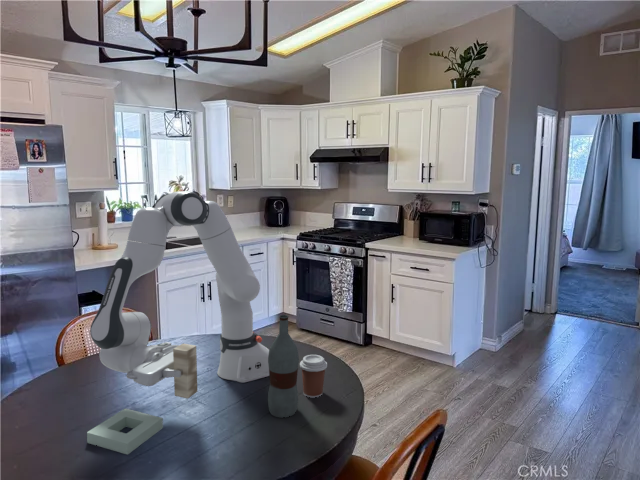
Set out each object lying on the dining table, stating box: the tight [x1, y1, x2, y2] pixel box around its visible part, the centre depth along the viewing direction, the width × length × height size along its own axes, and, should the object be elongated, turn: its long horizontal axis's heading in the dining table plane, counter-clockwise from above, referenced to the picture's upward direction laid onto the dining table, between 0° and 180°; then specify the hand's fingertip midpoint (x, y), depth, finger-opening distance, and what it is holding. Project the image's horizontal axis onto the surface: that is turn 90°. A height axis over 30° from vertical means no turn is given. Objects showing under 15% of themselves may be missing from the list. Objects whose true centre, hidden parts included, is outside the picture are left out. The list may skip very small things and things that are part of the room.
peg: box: [173, 342, 199, 399], centre depth 131 cm, size 4×4×14 cm
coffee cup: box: [299, 354, 328, 399], centre depth 151 cm, size 9×9×12 cm
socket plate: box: [86, 408, 164, 456], centre depth 126 cm, size 14×14×3 cm
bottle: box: [267, 314, 300, 419], centre depth 138 cm, size 9×9×30 cm
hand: (188, 369), depth 131 cm, fingers closed on peg, 4 cm apart
